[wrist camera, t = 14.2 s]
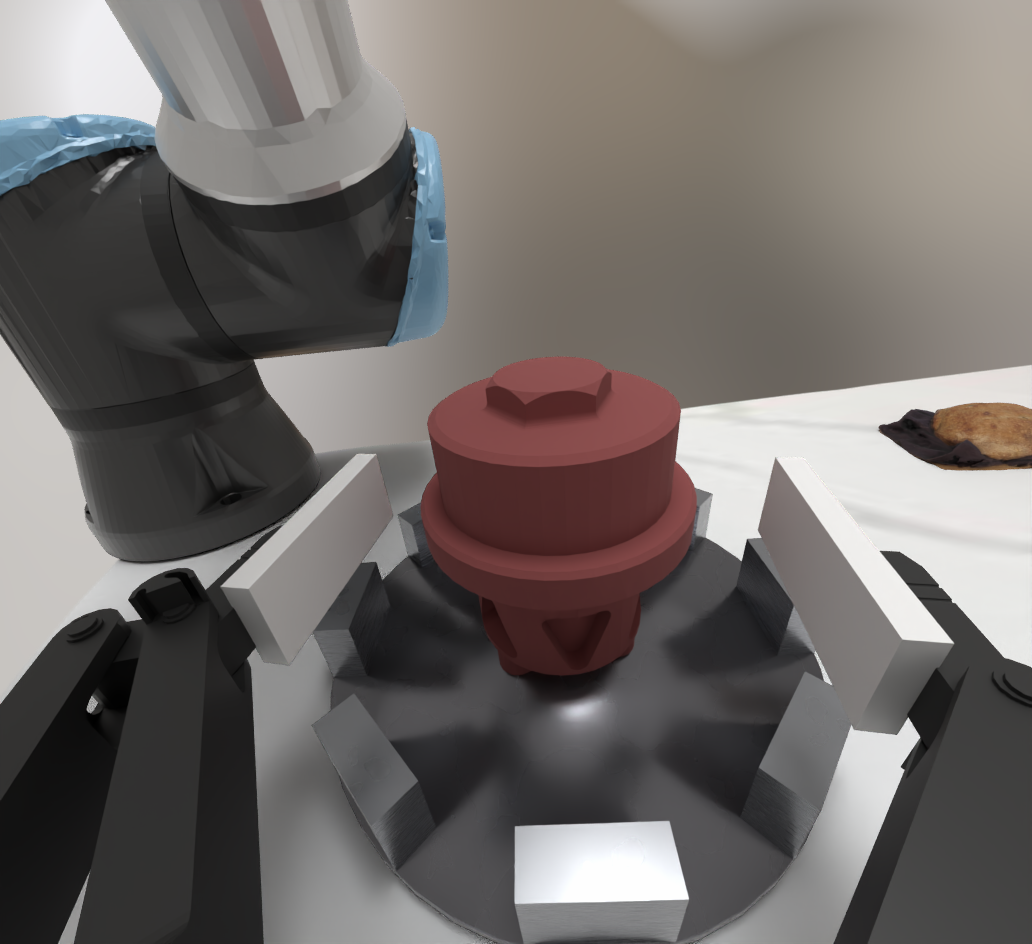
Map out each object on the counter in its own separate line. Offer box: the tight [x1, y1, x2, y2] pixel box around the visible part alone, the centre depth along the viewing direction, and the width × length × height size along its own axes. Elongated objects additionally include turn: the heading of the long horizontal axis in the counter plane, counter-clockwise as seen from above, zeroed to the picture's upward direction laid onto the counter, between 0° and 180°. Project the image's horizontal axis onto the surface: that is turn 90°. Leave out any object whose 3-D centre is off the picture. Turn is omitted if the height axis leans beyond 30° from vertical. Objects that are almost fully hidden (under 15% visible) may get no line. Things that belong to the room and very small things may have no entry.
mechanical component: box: [420, 357, 697, 676], centre depth 17 cm, size 12×10×10 cm
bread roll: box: [879, 403, 1032, 470], centre depth 32 cm, size 11×8×4 cm
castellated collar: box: [312, 488, 851, 944], centre depth 20 cm, size 21×21×4 cm
